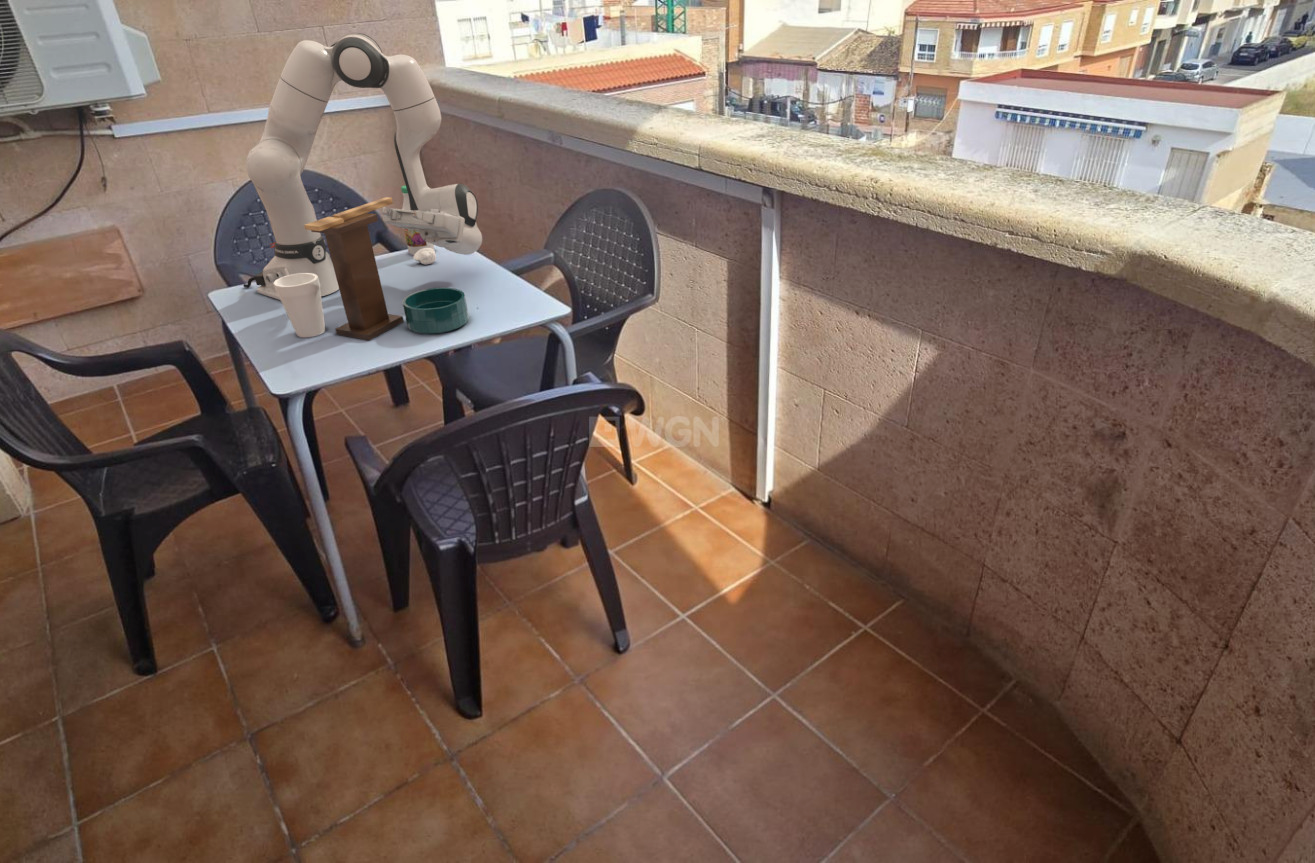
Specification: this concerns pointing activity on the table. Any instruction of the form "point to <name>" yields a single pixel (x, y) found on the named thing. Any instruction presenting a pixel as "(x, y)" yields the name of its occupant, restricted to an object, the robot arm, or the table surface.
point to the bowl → (435, 310)
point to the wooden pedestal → (358, 279)
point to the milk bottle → (413, 236)
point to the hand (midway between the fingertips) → (399, 211)
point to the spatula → (347, 215)
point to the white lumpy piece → (425, 256)
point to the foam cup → (302, 302)
